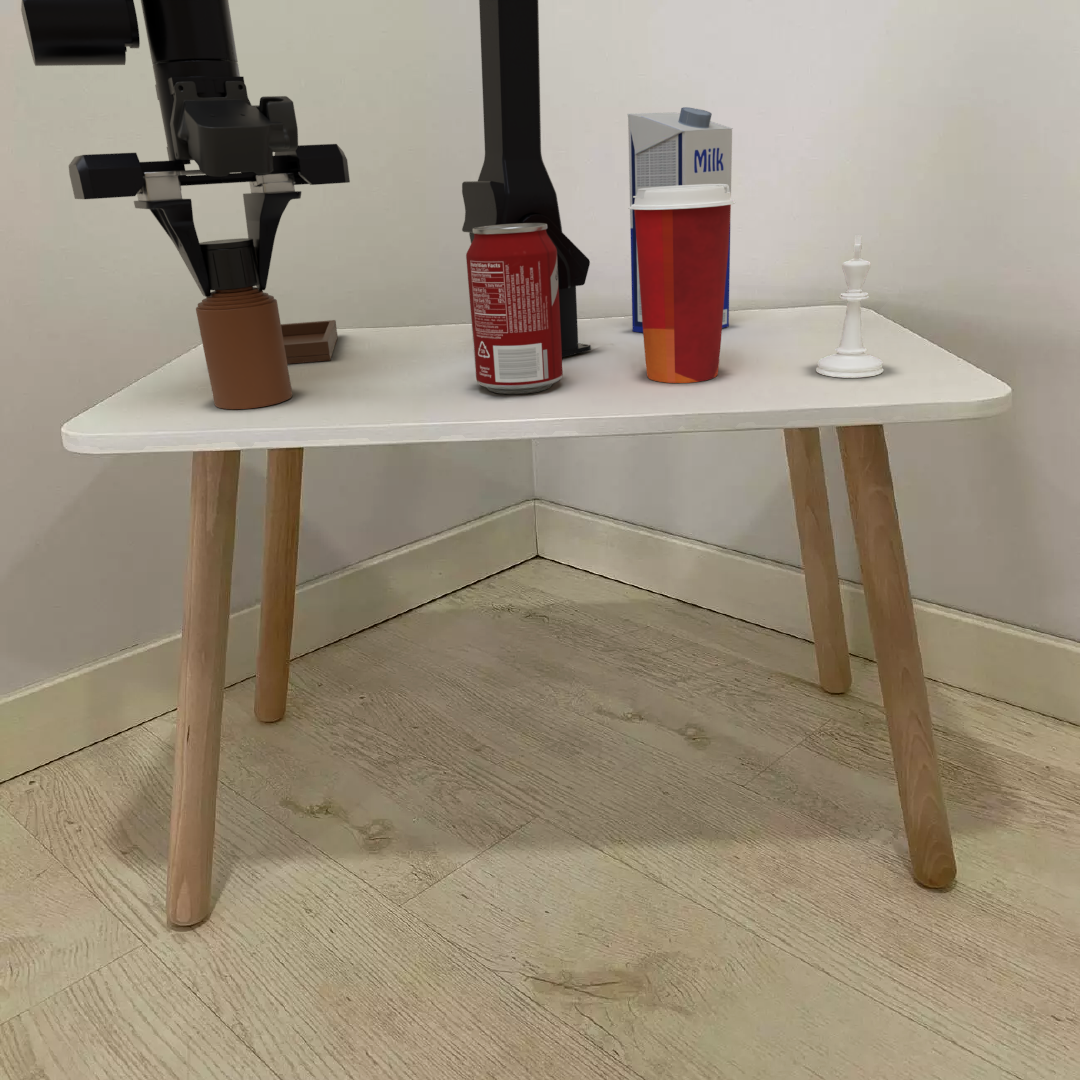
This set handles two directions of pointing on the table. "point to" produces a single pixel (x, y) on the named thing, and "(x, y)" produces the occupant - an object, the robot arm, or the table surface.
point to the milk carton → (675, 169)
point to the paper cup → (682, 278)
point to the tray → (309, 341)
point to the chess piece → (852, 327)
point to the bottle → (244, 348)
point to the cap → (231, 263)
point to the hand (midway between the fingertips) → (234, 293)
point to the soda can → (515, 308)
